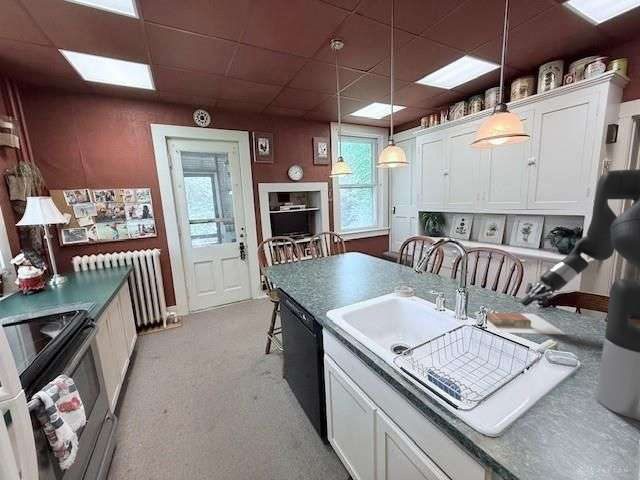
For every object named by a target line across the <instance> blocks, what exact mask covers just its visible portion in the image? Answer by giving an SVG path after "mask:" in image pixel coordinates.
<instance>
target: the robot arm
mask: <svg viewBox="0 0 640 480" xmlns="http://www.w3.org/2000/svg"><path fill="white" fill-rule="evenodd" d="M596 185H597V186H596V190H595V194H594V201H593V209H592V216H591V221H590V223H589V226H588V229H587V232H586V235H585V236H583V237H581V238H580V239H578V241H577V242H576V244H575V246H574V247H573V248H572V250H571V251H570V252H569V254H567V256H565V258H563V259H562V260H561V261H560V262H558V263H557V264H555V265H553V266H552V267H550V268H549V269H548V270H547V271H545V272H544V273H543V274H542V275H540V277H539V279H540V280H537V281H536V282H535V283H532V282H529V283H528V284H527V287H526V290H525V294H526V296H525V297H524V298H522V299H521V300H520V304H521V305H523V306H524V307H528V306H529V305H530V304H532V303H533V302H538V303H541V302H545V301H549V300H552V299H555V296H554V293H555V291H560V290H561V289H562V288H563V287H565V286H566V285H568V284H569V283H570V282H572V281H573V280H574V279H575V278H576V277H577V275H580V274H581V272H583V271H584V270H585V269H587V268H588V267H589V262H588V261H587V260H586V259H585V258H584V257H583V256H581V254H584V255H585V256H588V257H589V258H592V259H593V260H594V261H601V262H602V261H606V260H608V259H610V258H611V257H612V256H613V254H614V253H615V251H616V252H617V253H618V254H619V255H620V256H621V257H622V258H623V259H625V260H626V261H627V262H628V263H630V264H631V265H632V266H633V267H635V268H636V269H637V270H639V271H640V169H639V168H637V169H617V170H614V169H613V170H607V171H604V172H603V173H602V174H601V175H600V177H599V179H598V182H597V184H596ZM609 200H632V201H633V203H632V204H631V205H630V206H629V207H628V208H627V209H626V210H624V211H623V212H622V213H621V214H619V215H618V216H617V215H616V213H614V211H613V210H612V208H611V207H610V205H609V202H608V201H609ZM608 298H609V300H608V301H609V302H608V312H607V320H606V328H605V333H604V340H603V346H602V352H601V356H600V357H601V359H600V365H599V371H598V377H597V384H596V387H595V396H594V397H595V398H596V400H597V401H598V403H600V405H602V406H603V407H606V409H608V410H610V411H612V412H614V413H615V414H618V415H620V416H624V417H626V418H630V419H634V420H636V421H639V422H640V327H639V326H636V325H635V324H633V323H632V322H630V319H635V320H640V280H634V279H627V278H625V279H624V278H619V279H616V280H615V281H614V282H613V283H612V284H611V287H610V290H609V297H608Z"/></svg>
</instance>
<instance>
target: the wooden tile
mask: <svg viewBox="0 0 640 480" xmlns="http://www.w3.org/2000/svg"><path fill="white" fill-rule="evenodd" d="M486 313H487V320H488V321H489V322H491V323H492V324H493V325H494V326H525V327H531V320H529V319H528V318H526V317H525V316H523V315H522V314H523V313H520V312H514V313H513V312H486Z"/></svg>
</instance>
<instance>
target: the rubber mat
mask: <svg viewBox="0 0 640 480" xmlns="http://www.w3.org/2000/svg"><path fill="white" fill-rule="evenodd" d="M477 313H478V312H473V314H474V315H475V316H477ZM521 314H522V315H523V316H525V317H526V318H528V319H529V320H531V327H525V326H494V325H493V324H492V323H491V322H489V321H488V320H487V324H486V326H487V327H488V328H490V327H491V328H494V329H497V330H500V331H503V332H506V334H507V333H511V334H540V335H541V334H542V335H543V334H545V335H567V333H565V332H563V330H561V329H559V328H557V326H554V325H552V324H551V323H549V322H548V321H547V320H544V319H543V318H541V317H539V316H538V315H536V314H535V313H521ZM491 328H490V329H491Z"/></svg>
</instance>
